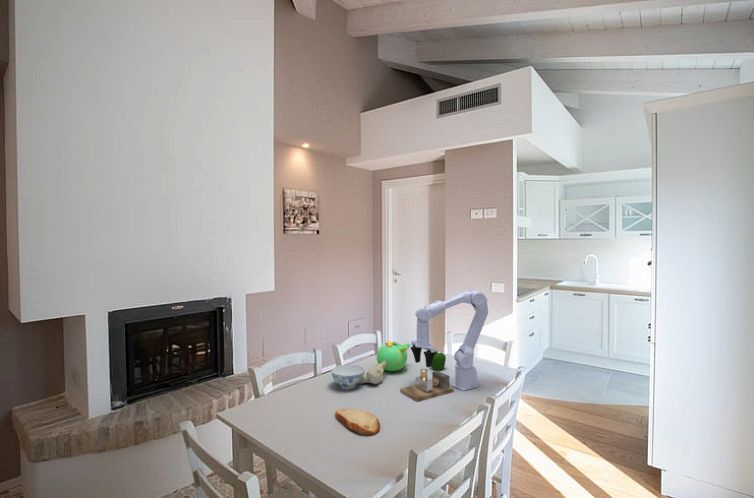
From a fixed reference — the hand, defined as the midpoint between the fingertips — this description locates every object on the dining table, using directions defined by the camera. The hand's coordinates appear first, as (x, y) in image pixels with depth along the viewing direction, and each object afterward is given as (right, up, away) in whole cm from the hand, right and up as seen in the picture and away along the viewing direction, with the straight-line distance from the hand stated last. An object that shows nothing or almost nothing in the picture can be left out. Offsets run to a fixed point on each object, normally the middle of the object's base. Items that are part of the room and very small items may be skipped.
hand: (423, 364), depth 173 cm
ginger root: (-22, -11, +9) cm, 26 cm away
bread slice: (-28, -12, -34) cm, 46 cm away
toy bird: (-13, -10, +24) cm, 29 cm away
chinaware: (-34, -11, +2) cm, 36 cm away
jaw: (0, -9, -6) cm, 10 cm away
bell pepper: (+10, -10, +25) cm, 29 cm away
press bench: (+1, -11, -5) cm, 12 cm away
